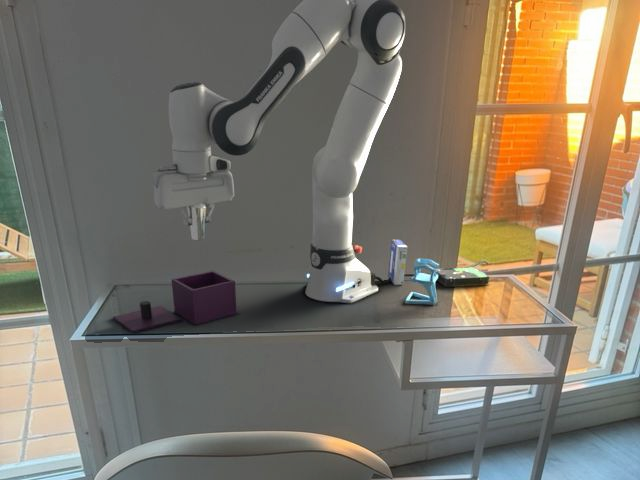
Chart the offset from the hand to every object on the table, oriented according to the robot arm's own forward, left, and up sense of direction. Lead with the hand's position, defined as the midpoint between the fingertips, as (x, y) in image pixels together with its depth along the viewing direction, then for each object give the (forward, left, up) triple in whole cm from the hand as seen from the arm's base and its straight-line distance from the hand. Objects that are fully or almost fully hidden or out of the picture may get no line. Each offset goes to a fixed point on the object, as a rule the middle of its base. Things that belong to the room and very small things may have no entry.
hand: (197, 223), depth 145 cm
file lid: (+15, -4, -23) cm, 27 cm away
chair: (-55, +29, -23) cm, 66 cm away
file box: (0, +1, -23) cm, 23 cm away
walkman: (-62, +12, -23) cm, 67 cm away
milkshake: (0, 0, -4) cm, 4 cm away
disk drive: (-79, +24, -23) cm, 86 cm away
